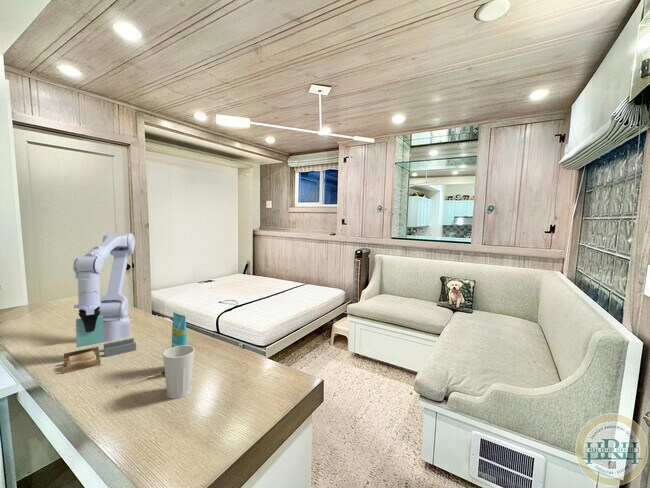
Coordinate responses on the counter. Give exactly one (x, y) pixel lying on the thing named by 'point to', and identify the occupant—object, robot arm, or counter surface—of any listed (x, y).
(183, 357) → the cup
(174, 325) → the tube
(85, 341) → the teal block
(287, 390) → the counter surface
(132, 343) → the holder
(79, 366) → the rack
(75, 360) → the offcut top
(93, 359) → the offcut low
